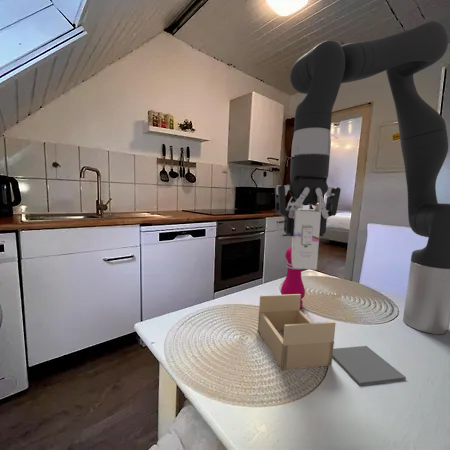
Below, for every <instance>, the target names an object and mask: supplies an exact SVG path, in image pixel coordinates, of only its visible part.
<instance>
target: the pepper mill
mask: <svg viewBox="0 0 450 450" xmlns="http://www.w3.org/2000/svg"><path fill="white" fill-rule="evenodd" d="M284 256H285V259H286V260H287V261H286V265H285V266H286V268H287V272H286V276H285V277H284V278H285V279H284V280H283V282H282V284H281V287H280V293H281V294H280V295H286V294H301V300H300V310H301V309H302V308H303V300H302V299H303V298H305V295H306V290H305V289H306V288H305V285H304V282H303V280H302V271H303V269H299V268H293V267H292V261H291V246H290V247H289V248H287V249H286V251H285V255H284Z"/></svg>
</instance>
